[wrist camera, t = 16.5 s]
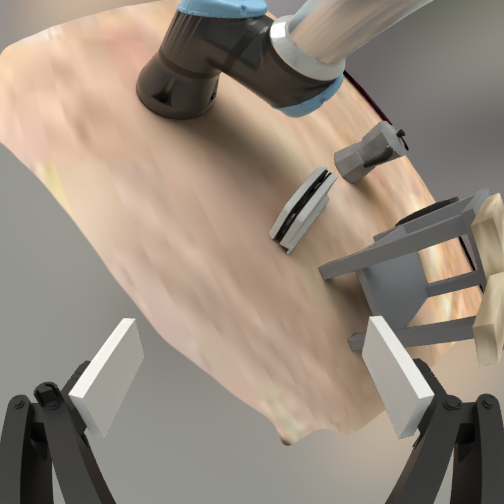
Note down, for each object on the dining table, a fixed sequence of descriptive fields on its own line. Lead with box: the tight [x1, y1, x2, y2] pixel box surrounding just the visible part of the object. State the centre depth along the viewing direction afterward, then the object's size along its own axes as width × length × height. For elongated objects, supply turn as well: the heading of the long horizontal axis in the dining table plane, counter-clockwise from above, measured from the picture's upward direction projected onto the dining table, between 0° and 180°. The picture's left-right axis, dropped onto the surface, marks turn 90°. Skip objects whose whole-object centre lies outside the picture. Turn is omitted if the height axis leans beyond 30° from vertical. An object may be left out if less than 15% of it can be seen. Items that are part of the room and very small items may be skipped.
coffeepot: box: [334, 121, 406, 183], centre depth 58 cm, size 15×9×18 cm, turn 143°
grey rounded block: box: [269, 166, 337, 255], centre depth 50 cm, size 17×5×10 cm, turn 138°
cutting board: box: [471, 193, 504, 367], centre depth 25 cm, size 16×31×3 cm, turn 115°
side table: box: [319, 187, 490, 351], centre depth 46 cm, size 18×24×30 cm
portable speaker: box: [395, 197, 459, 227], centre depth 64 cm, size 9×9×20 cm
